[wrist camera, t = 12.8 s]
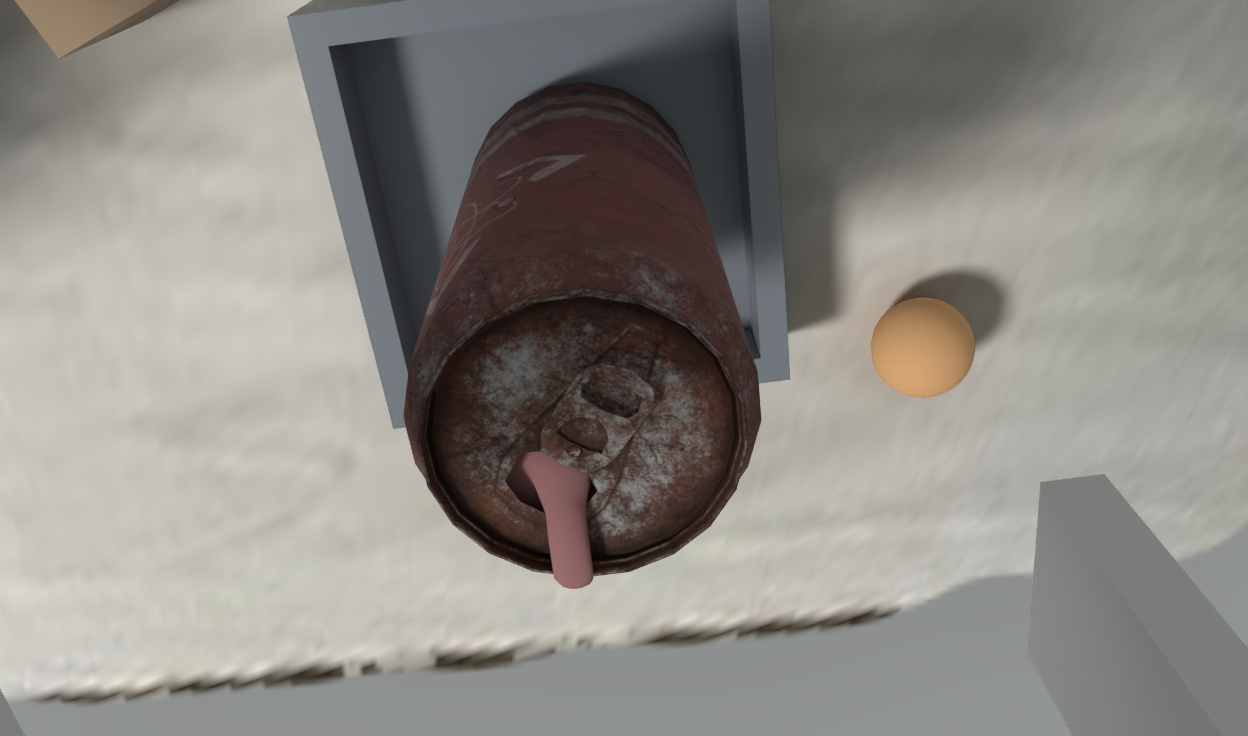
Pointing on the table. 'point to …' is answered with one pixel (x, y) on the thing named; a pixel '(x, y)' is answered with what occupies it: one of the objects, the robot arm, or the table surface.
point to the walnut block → (85, 20)
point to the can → (582, 345)
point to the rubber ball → (922, 347)
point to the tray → (488, 87)
